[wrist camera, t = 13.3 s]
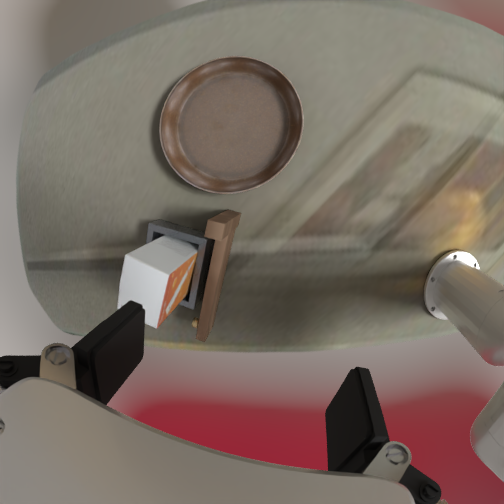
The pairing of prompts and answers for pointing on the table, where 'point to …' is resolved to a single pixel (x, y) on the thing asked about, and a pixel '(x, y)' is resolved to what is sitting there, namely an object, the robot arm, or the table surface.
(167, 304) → the small box
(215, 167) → the plant saucer
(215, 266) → the brown l-shaped wood piece
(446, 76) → the table surface
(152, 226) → the gray square tray
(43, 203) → the table surface
